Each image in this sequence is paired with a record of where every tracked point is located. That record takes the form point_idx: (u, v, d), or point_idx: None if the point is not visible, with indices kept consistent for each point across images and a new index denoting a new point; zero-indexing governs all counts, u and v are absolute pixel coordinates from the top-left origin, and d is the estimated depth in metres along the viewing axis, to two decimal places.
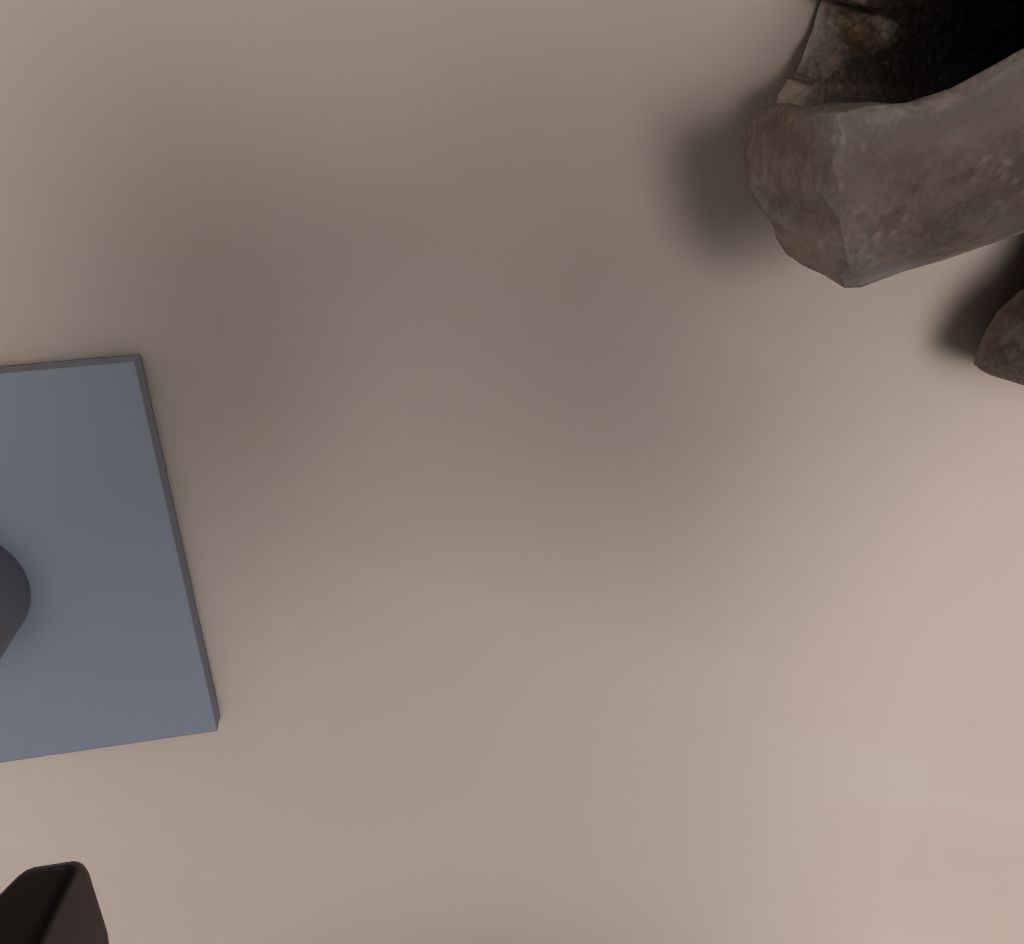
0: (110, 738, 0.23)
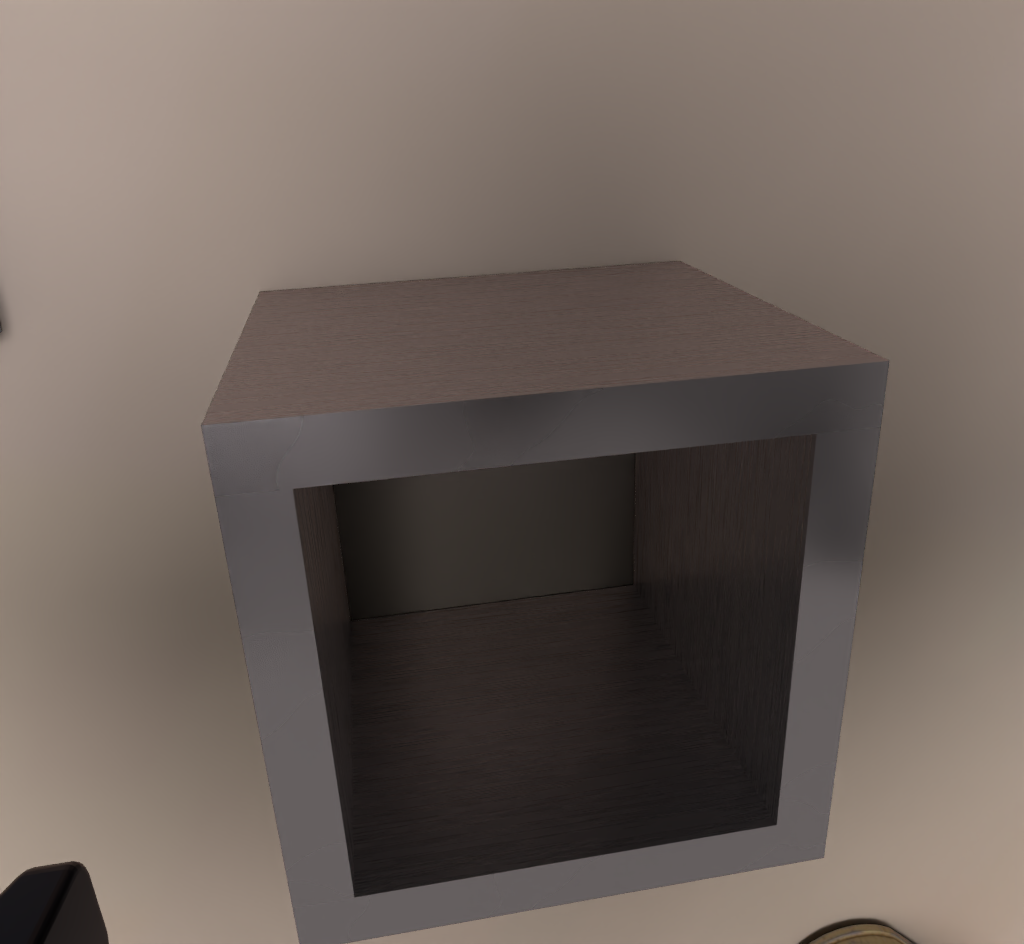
0: None
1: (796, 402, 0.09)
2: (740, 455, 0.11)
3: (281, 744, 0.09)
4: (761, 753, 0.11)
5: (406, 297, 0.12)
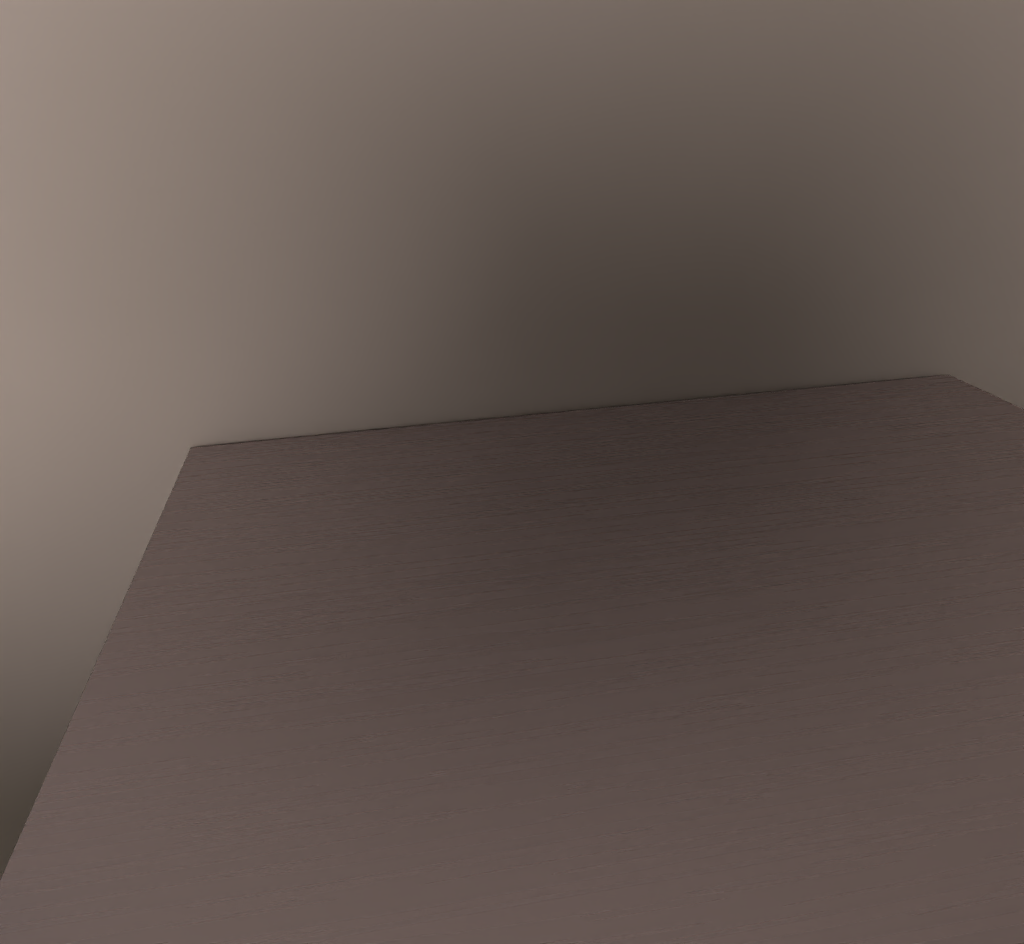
0: None
1: None
2: None
3: None
4: None
5: (474, 478, 0.06)
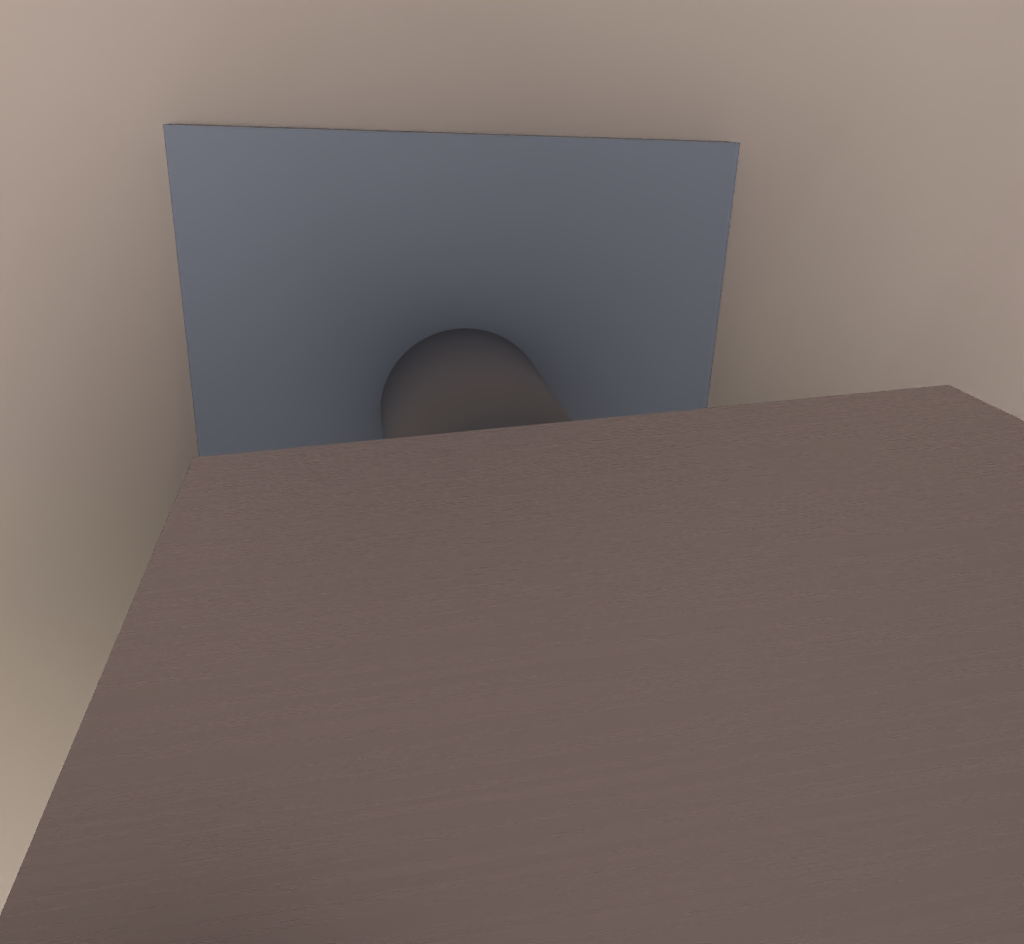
0: (710, 286, 0.17)
1: None
2: None
3: None
4: None
5: (476, 490, 0.06)
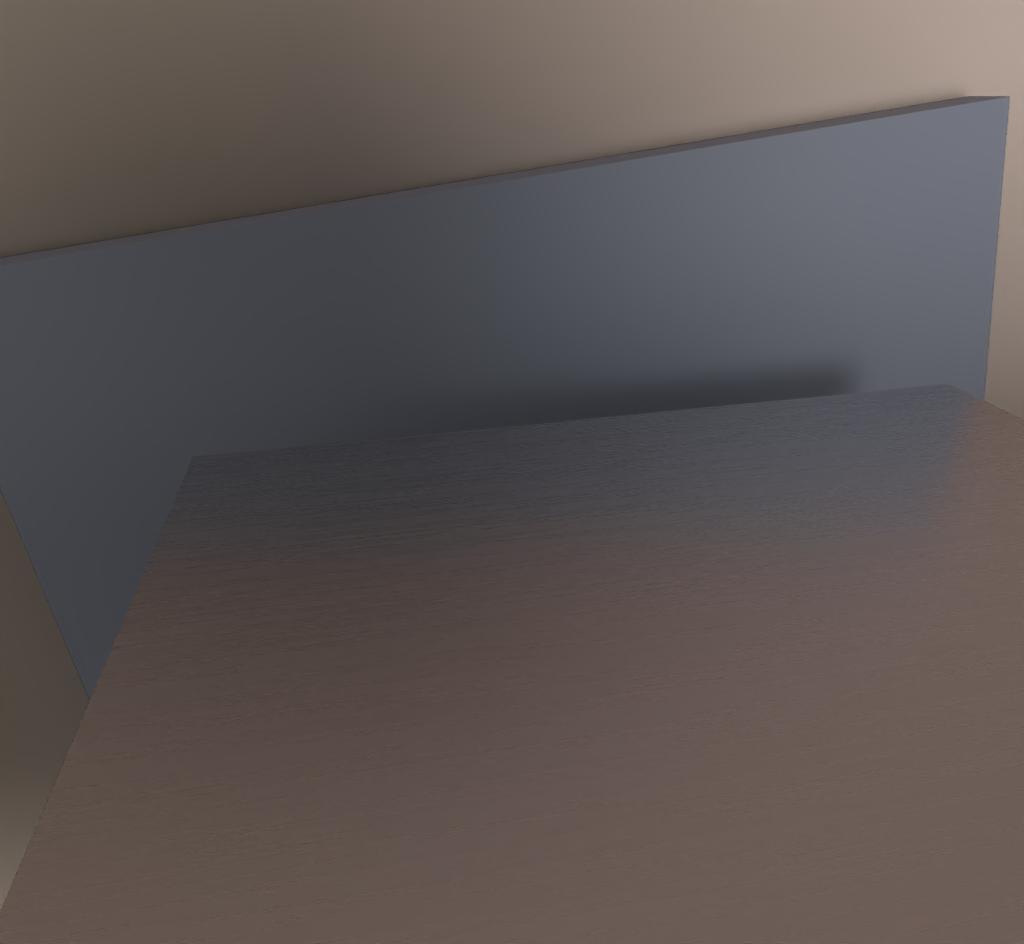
0: None
1: None
2: None
3: None
4: None
5: (475, 489, 0.06)
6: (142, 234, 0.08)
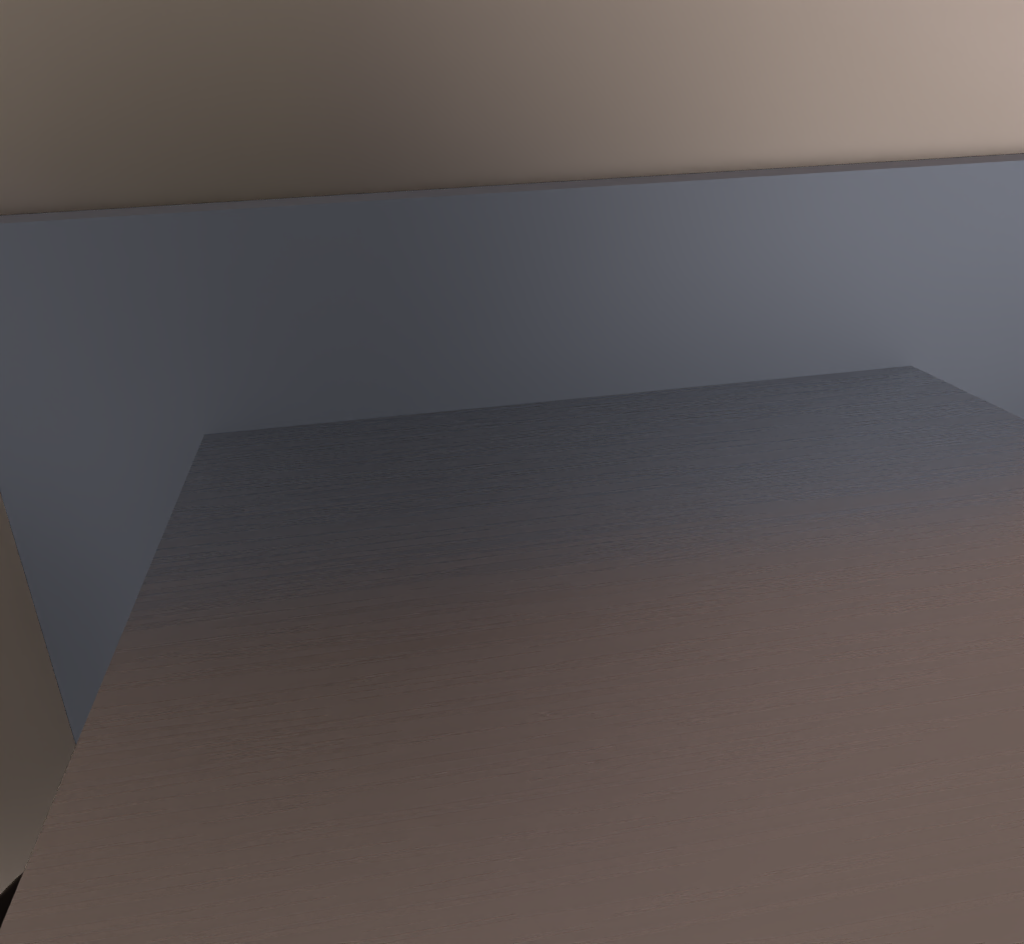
0: None
1: None
2: None
3: None
4: None
5: (466, 461, 0.07)
6: None
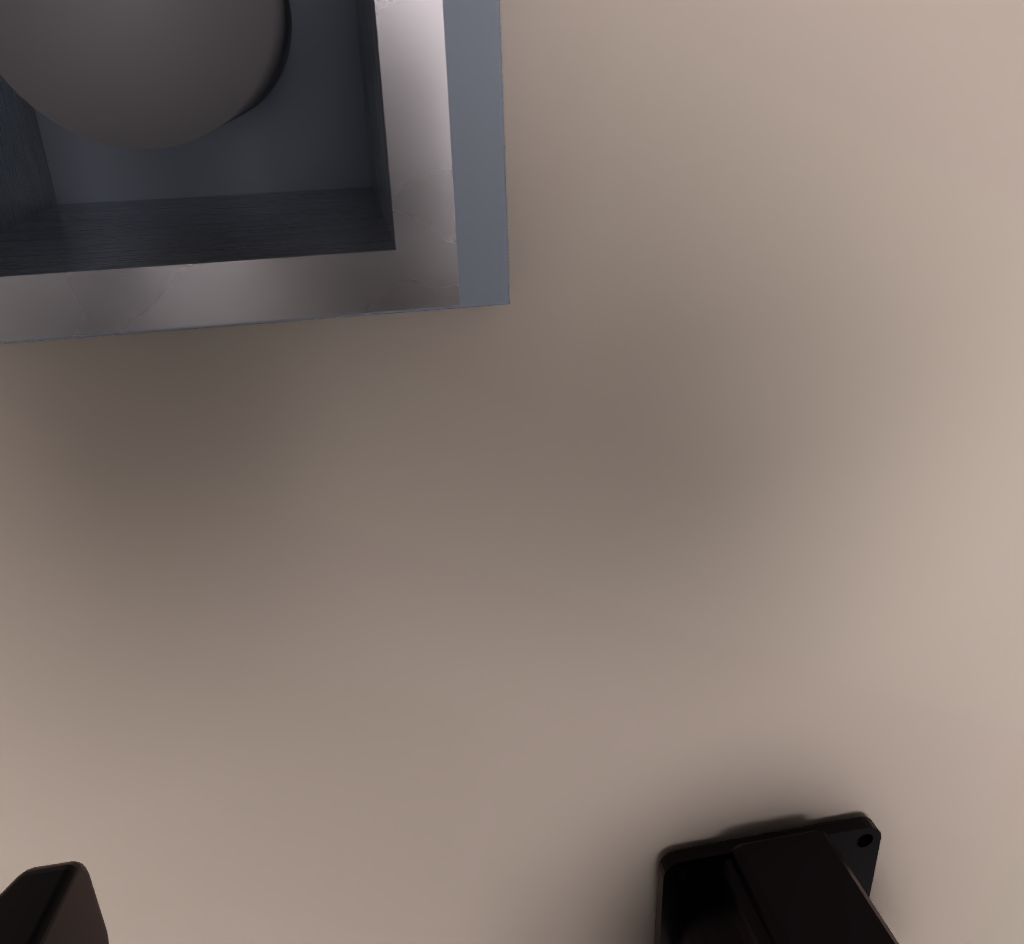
0: None
1: None
2: None
3: None
4: (387, 184, 0.10)
5: None
6: None
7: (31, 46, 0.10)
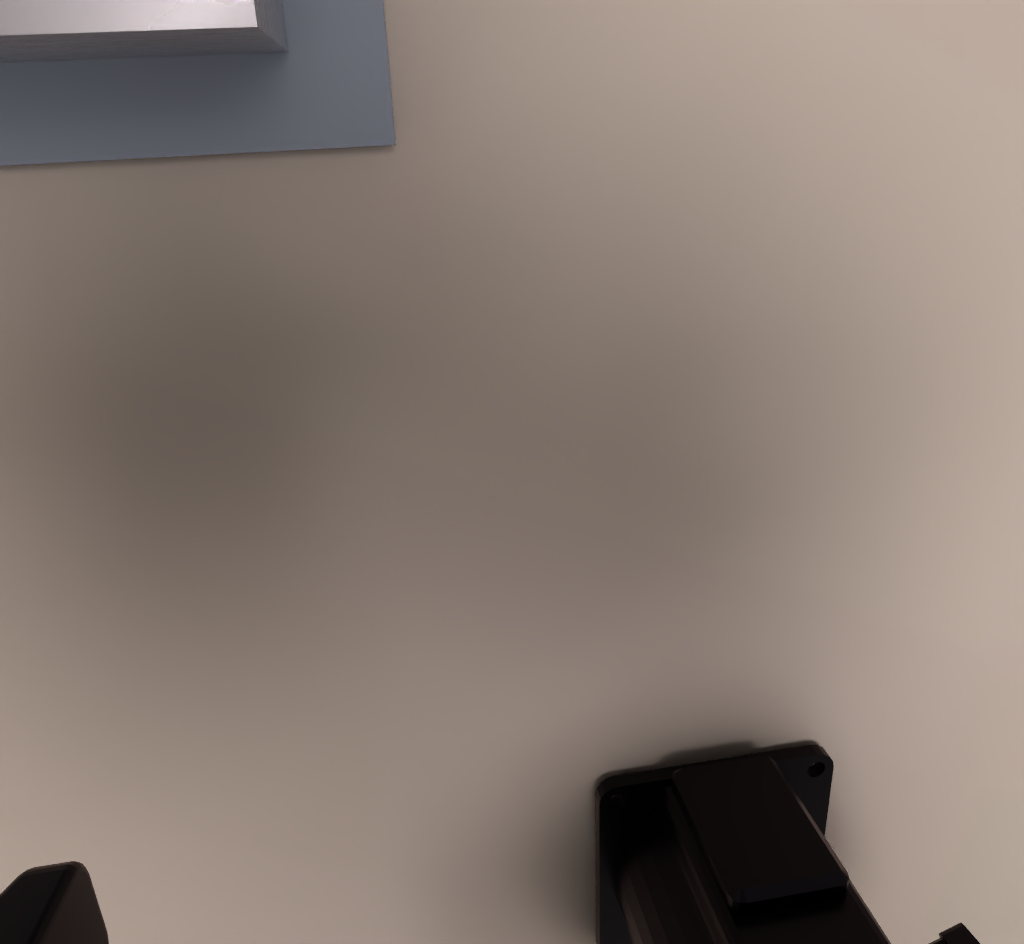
0: (244, 138, 0.15)
1: None
2: None
3: None
4: None
5: None
6: None
7: None
